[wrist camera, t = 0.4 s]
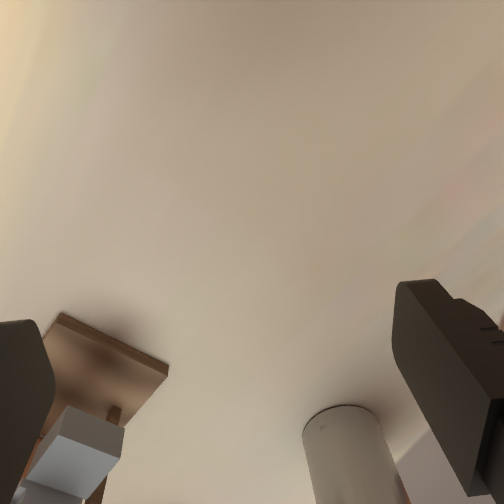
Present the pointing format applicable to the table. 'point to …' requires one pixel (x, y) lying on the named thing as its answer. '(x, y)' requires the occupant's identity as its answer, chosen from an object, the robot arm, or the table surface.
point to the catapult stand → (98, 377)
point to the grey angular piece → (71, 460)
